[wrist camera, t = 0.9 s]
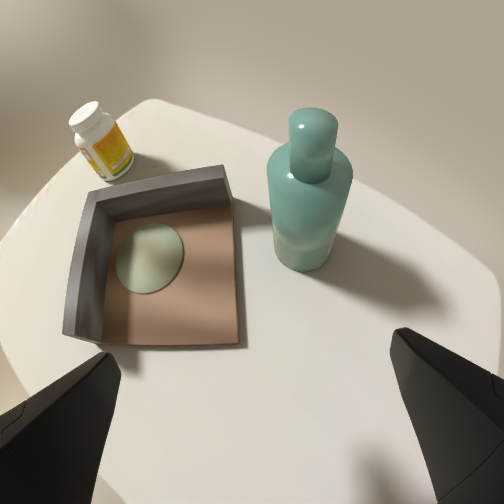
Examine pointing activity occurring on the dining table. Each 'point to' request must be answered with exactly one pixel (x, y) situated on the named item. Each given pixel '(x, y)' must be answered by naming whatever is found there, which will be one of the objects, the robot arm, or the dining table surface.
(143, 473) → the dining table surface
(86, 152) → the supplement bottle
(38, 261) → the dining table surface
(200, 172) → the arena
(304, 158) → the teal bottle
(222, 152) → the dining table surface
